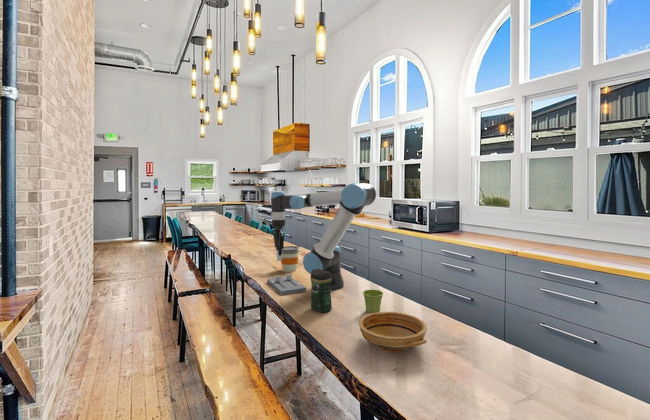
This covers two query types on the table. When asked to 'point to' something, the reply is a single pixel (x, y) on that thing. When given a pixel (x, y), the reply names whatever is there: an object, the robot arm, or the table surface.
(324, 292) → the coffee jar
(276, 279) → the fader
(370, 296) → the plant pot
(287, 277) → the fader
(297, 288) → the console
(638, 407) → the table surface
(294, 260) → the reusable coffee cup
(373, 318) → the ceramic bowl
